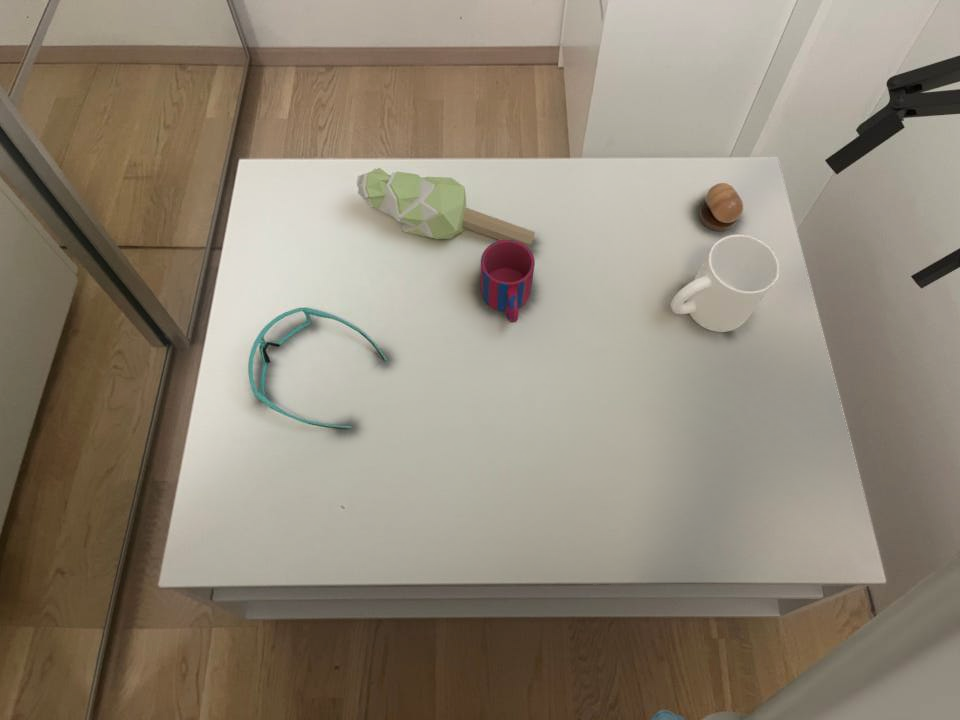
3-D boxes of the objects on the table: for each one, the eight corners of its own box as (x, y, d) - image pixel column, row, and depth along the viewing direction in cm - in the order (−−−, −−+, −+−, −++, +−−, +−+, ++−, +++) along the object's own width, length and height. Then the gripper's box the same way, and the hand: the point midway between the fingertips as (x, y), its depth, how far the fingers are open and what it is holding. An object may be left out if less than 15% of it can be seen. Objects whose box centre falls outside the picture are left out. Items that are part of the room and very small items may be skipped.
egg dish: (743, 227, 93) (757, 204, 89) (710, 237, 93) (722, 215, 88) (723, 196, 96) (736, 172, 91) (691, 205, 95) (702, 182, 90)
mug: (675, 350, 85) (699, 310, 76) (648, 296, 89) (668, 252, 79) (759, 324, 87) (792, 282, 77) (729, 272, 90) (758, 226, 81)
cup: (529, 268, 90) (533, 239, 84) (532, 334, 86) (536, 308, 80) (480, 268, 90) (480, 239, 84) (480, 334, 86) (480, 308, 80)
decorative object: (540, 207, 94) (370, 146, 92) (544, 216, 85) (356, 148, 83) (519, 266, 97) (354, 208, 95) (520, 280, 88) (338, 216, 86)
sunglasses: (291, 307, 88) (285, 289, 83) (394, 351, 87) (394, 335, 82) (235, 399, 82) (224, 384, 77) (344, 447, 81) (340, 435, 76)
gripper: (1279, 183, 47) (962, 342, 58) (1042, -33, 57) (810, 138, 68) (1307, 148, 42) (950, 331, 53) (1038, -85, 52) (787, 111, 63)
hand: (871, 222), depth 61 cm, fingers open, 13 cm apart
